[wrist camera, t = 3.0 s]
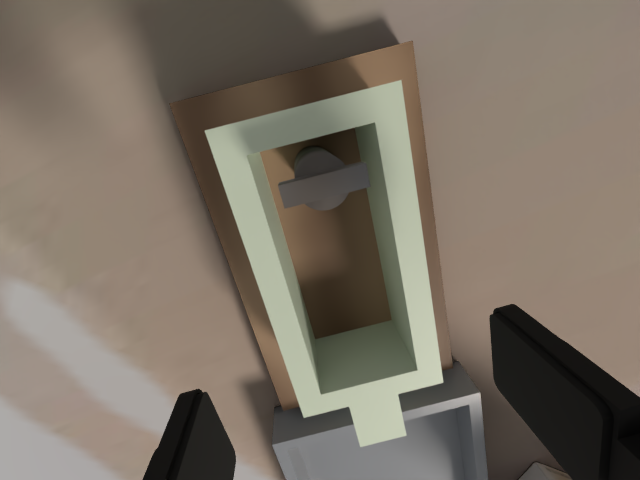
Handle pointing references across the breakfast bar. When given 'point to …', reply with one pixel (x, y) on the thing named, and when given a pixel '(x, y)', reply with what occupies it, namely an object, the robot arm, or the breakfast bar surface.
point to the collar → (393, 245)
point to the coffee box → (543, 473)
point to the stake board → (309, 230)
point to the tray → (396, 454)
